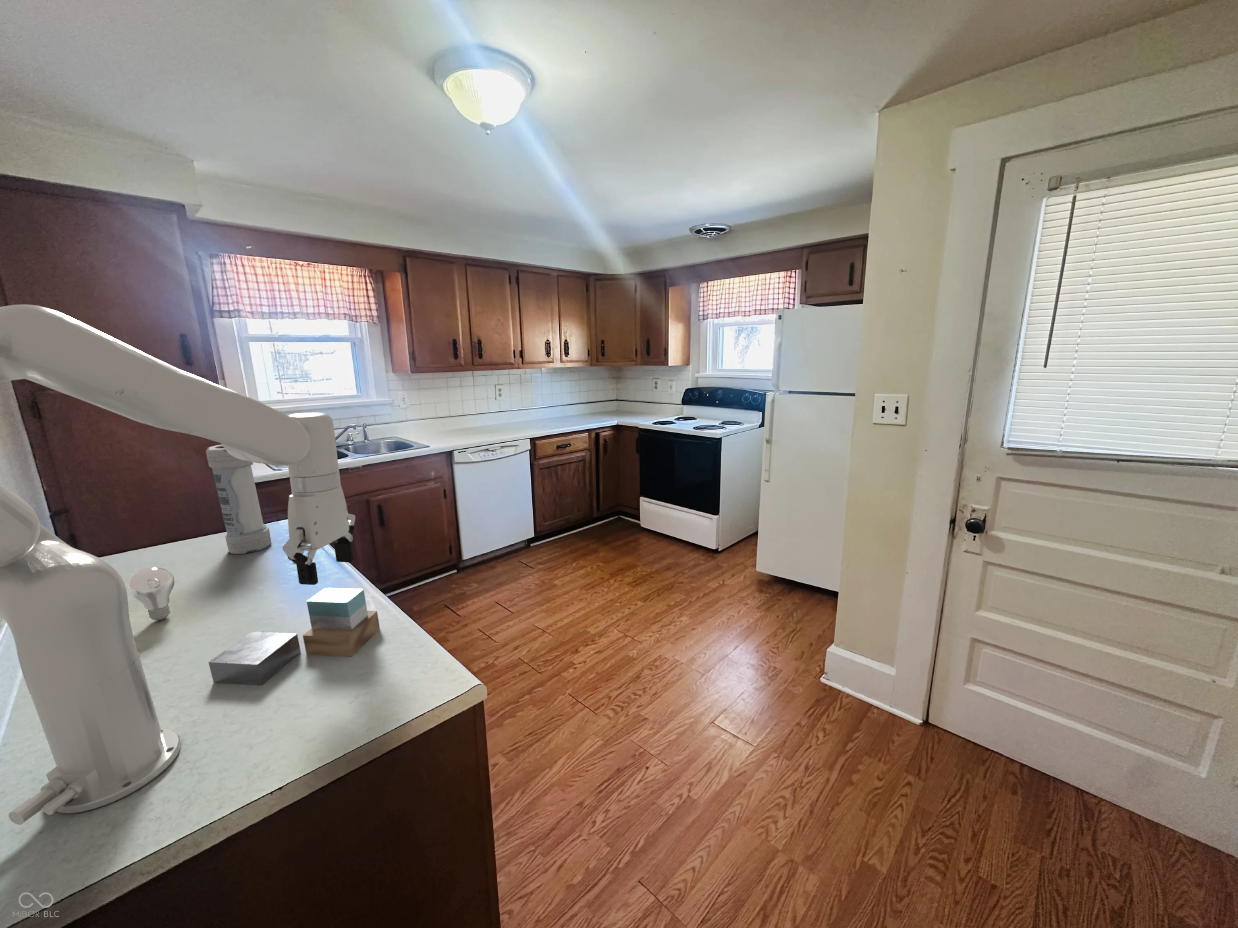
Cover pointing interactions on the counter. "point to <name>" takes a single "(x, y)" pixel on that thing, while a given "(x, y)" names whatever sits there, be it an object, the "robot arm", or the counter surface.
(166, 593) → the light bulb
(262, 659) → the stand
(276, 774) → the counter surface
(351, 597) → the teal and grey block
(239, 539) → the canister
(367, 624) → the stand
